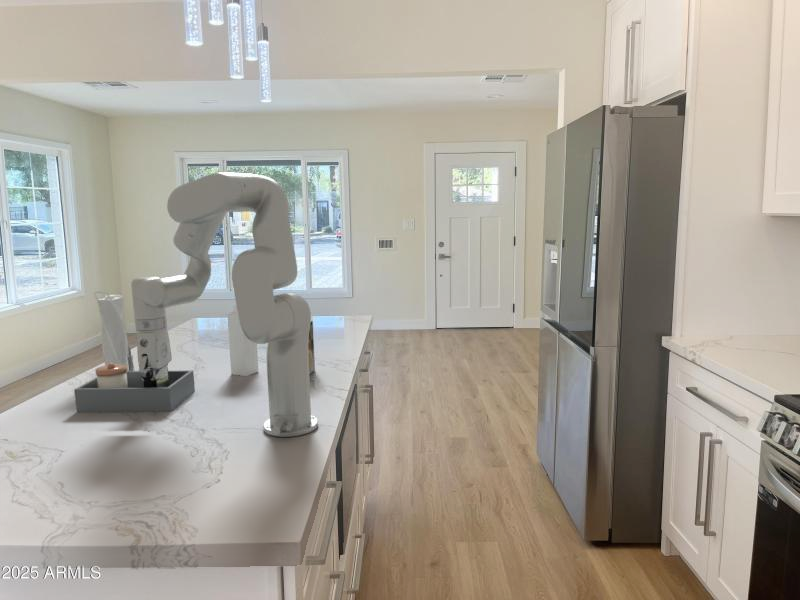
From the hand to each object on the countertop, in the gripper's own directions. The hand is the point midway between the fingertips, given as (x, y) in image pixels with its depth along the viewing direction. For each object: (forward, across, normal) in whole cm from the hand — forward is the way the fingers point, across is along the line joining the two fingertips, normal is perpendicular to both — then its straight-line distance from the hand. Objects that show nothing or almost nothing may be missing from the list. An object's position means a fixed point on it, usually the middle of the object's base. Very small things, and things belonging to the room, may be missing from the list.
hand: (157, 390), depth 151 cm
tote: (+4, 0, +5) cm, 6 cm away
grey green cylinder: (+2, 0, 0) cm, 2 cm away
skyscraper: (+4, +21, +21) cm, 30 cm away
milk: (+4, +29, -15) cm, 33 cm away
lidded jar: (+3, 0, +12) cm, 12 cm away
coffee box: (+4, +27, -33) cm, 43 cm away
